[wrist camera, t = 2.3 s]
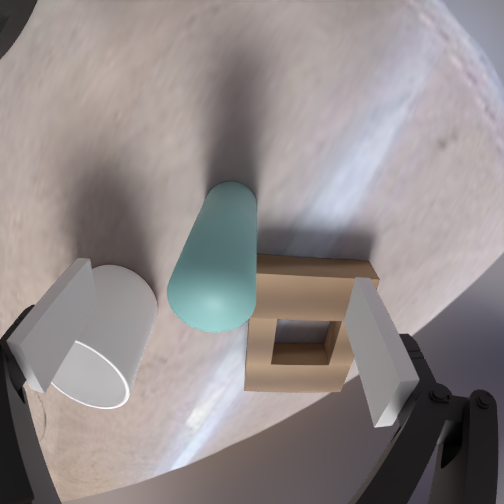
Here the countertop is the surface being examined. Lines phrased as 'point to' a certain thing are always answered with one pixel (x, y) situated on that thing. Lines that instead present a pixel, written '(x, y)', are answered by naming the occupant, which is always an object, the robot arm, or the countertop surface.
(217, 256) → the peg
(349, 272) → the socket
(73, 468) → the countertop surface
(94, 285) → the robot arm
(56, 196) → the countertop surface
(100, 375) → the cup
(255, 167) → the countertop surface
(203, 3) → the countertop surface
